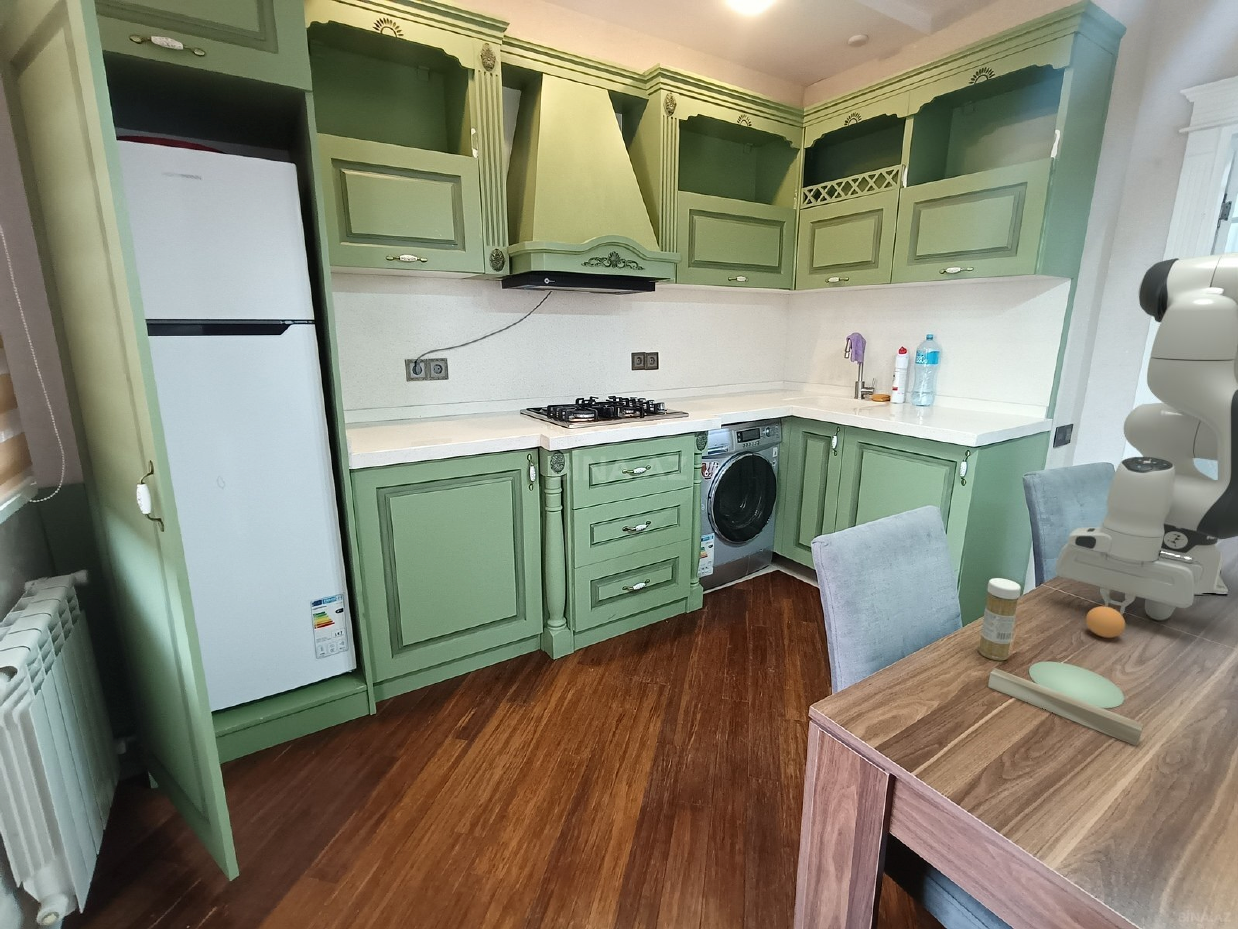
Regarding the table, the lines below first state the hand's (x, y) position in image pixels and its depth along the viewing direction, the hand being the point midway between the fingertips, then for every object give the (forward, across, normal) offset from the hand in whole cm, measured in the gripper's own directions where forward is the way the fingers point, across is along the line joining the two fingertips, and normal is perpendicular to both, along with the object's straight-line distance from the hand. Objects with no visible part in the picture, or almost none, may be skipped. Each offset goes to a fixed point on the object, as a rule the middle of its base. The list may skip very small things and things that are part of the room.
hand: (1113, 611), depth 113 cm
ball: (-1, 0, +9) cm, 9 cm away
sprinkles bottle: (+2, +12, +31) cm, 33 cm away
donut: (+2, -6, -7) cm, 9 cm away
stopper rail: (+2, 0, +41) cm, 41 cm away
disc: (+2, 0, +31) cm, 31 cm away
